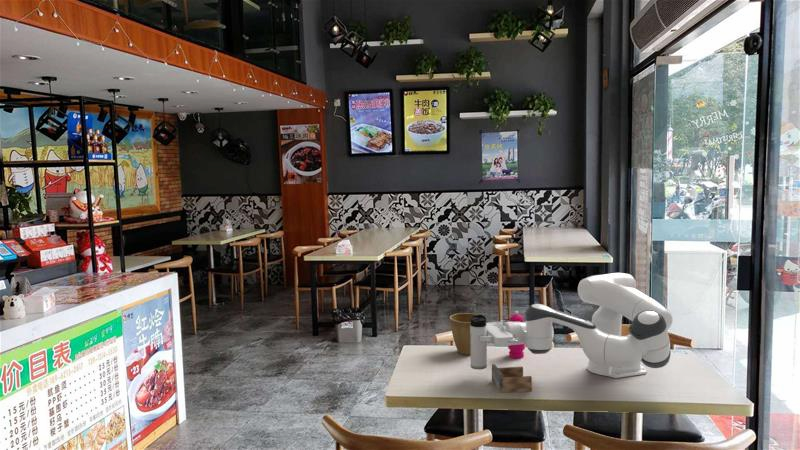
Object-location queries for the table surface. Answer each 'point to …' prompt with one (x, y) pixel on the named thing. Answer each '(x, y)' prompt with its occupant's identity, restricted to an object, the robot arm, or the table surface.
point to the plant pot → (461, 331)
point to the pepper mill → (516, 350)
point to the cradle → (510, 379)
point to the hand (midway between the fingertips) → (476, 335)
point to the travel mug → (478, 342)
